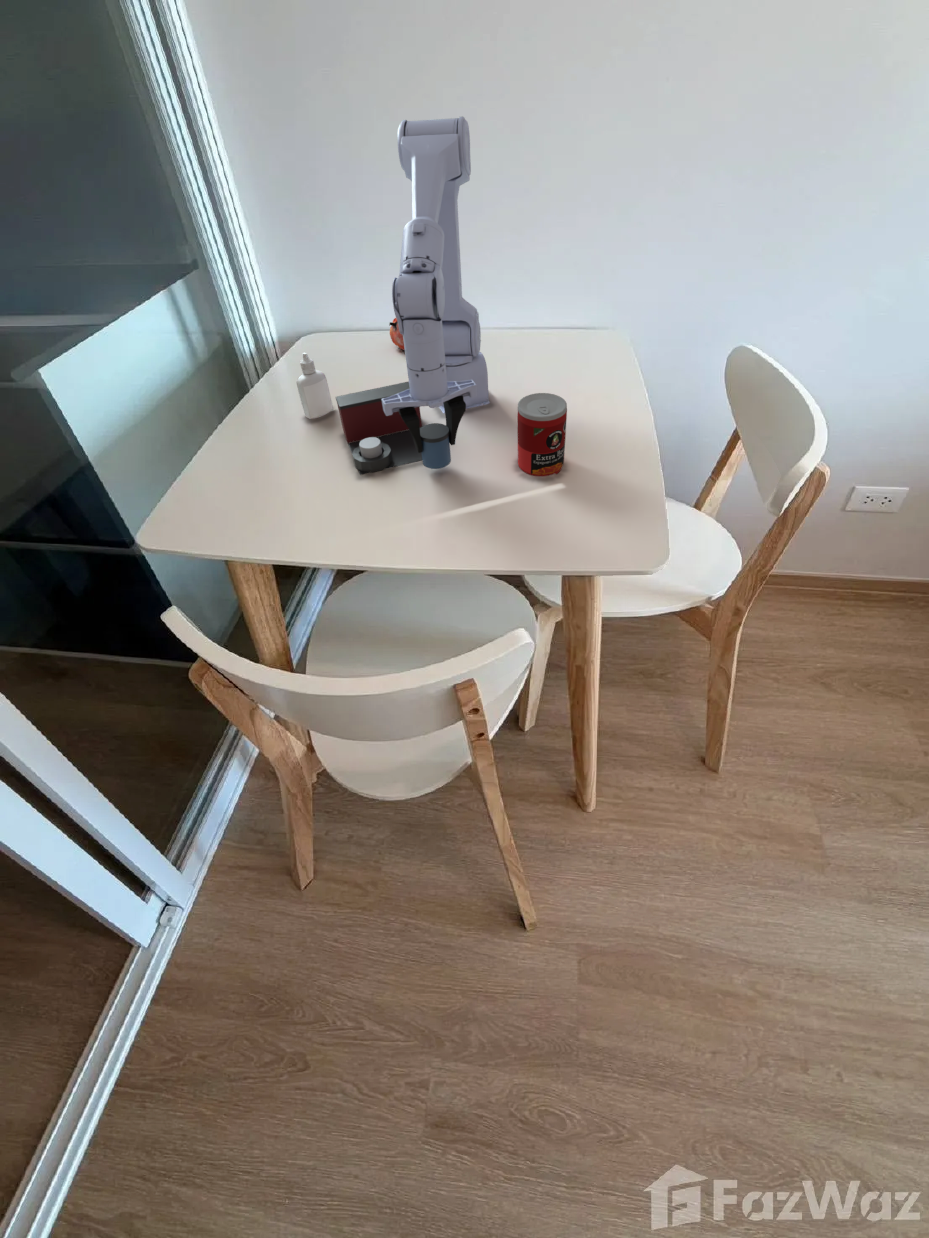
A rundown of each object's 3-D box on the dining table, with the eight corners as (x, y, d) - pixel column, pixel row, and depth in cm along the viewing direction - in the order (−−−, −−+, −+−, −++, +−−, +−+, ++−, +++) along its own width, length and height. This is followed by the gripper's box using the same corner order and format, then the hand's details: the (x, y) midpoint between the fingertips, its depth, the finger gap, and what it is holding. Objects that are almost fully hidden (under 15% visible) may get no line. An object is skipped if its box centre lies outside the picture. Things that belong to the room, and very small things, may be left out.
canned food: (533, 484, 100) (534, 422, 92) (508, 462, 105) (507, 401, 97) (573, 470, 102) (577, 407, 94) (546, 448, 107) (548, 387, 99)
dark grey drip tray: (440, 460, 107) (438, 446, 105) (359, 478, 105) (356, 465, 103) (422, 429, 115) (421, 416, 113) (347, 446, 112) (344, 433, 110)
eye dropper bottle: (335, 417, 120) (320, 355, 111) (306, 422, 119) (289, 360, 111) (333, 407, 123) (319, 346, 114) (304, 412, 122) (288, 351, 114)
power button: (384, 456, 105) (382, 445, 103) (363, 461, 104) (361, 450, 103) (379, 446, 107) (377, 435, 106) (359, 450, 107) (357, 439, 105)
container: (446, 450, 105) (444, 420, 101) (455, 465, 101) (453, 435, 97) (418, 457, 104) (414, 427, 100) (426, 472, 100) (422, 441, 97)
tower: (424, 432, 114) (419, 392, 108) (349, 449, 111) (340, 409, 106) (416, 419, 117) (412, 380, 112) (343, 435, 115) (335, 396, 109)
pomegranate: (410, 348, 146) (375, 329, 139) (426, 319, 142) (391, 299, 135) (421, 363, 141) (385, 345, 135) (438, 334, 138) (402, 314, 131)
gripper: (384, 384, 87) (397, 468, 97) (481, 364, 89) (485, 447, 99) (373, 364, 92) (387, 446, 101) (466, 345, 94) (471, 427, 104)
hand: (434, 445), depth 101 cm, fingers closed on container, 5 cm apart
